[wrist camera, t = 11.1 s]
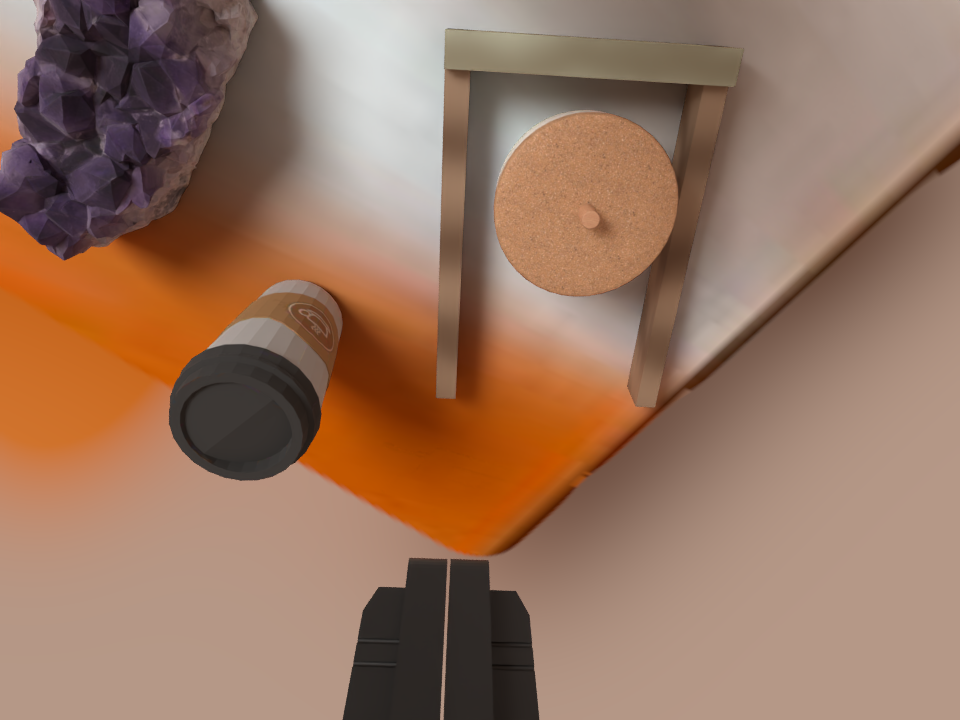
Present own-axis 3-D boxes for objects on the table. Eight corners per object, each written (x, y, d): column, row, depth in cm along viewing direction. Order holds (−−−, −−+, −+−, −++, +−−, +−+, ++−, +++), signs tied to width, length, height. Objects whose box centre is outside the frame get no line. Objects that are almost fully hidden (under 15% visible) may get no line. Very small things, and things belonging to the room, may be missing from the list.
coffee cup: (379, 323, 48) (343, 438, 35) (303, 381, 50) (243, 509, 37) (300, 241, 44) (227, 334, 31) (223, 308, 47) (126, 420, 34)
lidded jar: (619, 268, 46) (651, 322, 38) (477, 241, 45) (478, 291, 36) (668, 116, 41) (717, 140, 32) (509, 82, 40) (518, 98, 31)
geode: (200, 273, 46) (112, 328, 37) (52, 192, 44) (-76, 229, 36) (297, -5, 37) (211, -21, 28) (114, -119, 35) (-39, -174, 26)
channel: (447, 28, 38) (445, 29, 35) (719, 46, 39) (744, 48, 35) (437, 378, 50) (435, 405, 47) (645, 387, 51) (658, 414, 47)
